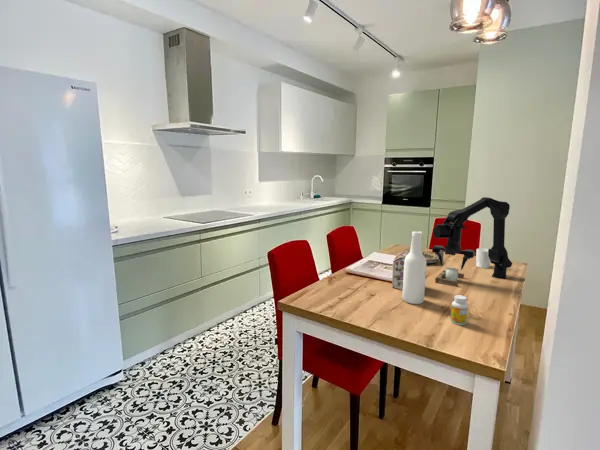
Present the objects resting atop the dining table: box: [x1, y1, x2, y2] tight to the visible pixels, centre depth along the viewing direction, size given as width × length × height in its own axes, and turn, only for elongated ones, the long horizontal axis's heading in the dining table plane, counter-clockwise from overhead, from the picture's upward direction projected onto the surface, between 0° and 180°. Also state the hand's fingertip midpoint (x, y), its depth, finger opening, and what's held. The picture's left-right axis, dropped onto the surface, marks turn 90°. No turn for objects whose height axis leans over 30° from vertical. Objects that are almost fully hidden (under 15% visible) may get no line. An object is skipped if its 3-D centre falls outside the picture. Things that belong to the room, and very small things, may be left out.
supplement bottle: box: [450, 294, 469, 326], centre depth 123 cm, size 5×5×10 cm
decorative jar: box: [391, 249, 427, 291], centre depth 158 cm, size 12×12×18 cm
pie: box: [422, 250, 440, 265], centre depth 204 cm, size 28×27×5 cm
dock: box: [434, 270, 465, 288], centre depth 169 cm, size 16×10×2 cm, turn 144°
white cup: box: [475, 247, 491, 269], centre depth 193 cm, size 8×8×10 cm
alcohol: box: [401, 230, 427, 305], centre depth 141 cm, size 9×9×30 cm
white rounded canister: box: [444, 267, 459, 281], centre depth 169 cm, size 6×6×6 cm
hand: (451, 267), depth 168 cm, fingers open, 9 cm apart
